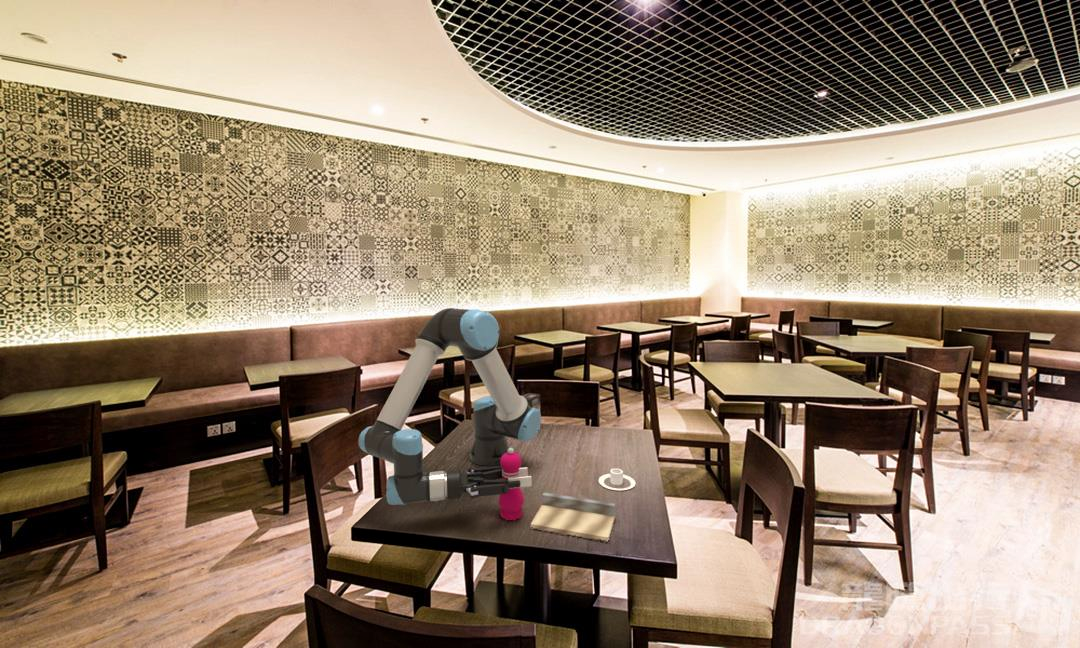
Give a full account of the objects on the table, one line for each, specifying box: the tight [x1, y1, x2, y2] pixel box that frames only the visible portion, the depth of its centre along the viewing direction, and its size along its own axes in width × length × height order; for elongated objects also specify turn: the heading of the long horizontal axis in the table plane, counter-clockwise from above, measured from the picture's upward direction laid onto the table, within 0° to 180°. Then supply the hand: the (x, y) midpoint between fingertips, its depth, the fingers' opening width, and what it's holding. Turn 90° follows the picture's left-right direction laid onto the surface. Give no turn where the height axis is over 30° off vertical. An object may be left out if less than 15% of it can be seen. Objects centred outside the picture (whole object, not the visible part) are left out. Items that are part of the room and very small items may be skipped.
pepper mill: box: [498, 447, 525, 521], centre depth 127 cm, size 7×7×20 cm
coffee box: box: [521, 392, 541, 431], centre depth 194 cm, size 9×6×16 cm
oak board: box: [530, 492, 616, 541], centre depth 123 cm, size 21×12×4 cm, turn 72°
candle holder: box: [598, 468, 637, 491], centre depth 147 cm, size 12×12×4 cm
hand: (529, 476), depth 128 cm, fingers closed on pepper mill, 5 cm apart
